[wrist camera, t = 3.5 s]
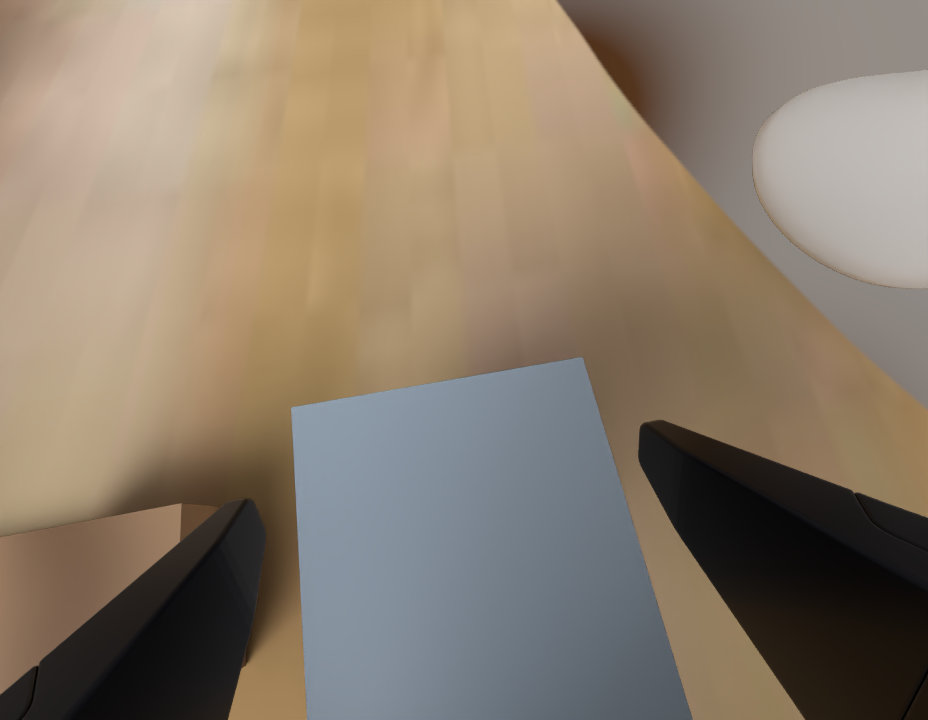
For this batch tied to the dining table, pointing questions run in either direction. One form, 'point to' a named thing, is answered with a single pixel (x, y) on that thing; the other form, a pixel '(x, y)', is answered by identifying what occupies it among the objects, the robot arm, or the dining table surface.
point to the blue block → (474, 557)
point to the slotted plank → (77, 576)
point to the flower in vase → (852, 176)
